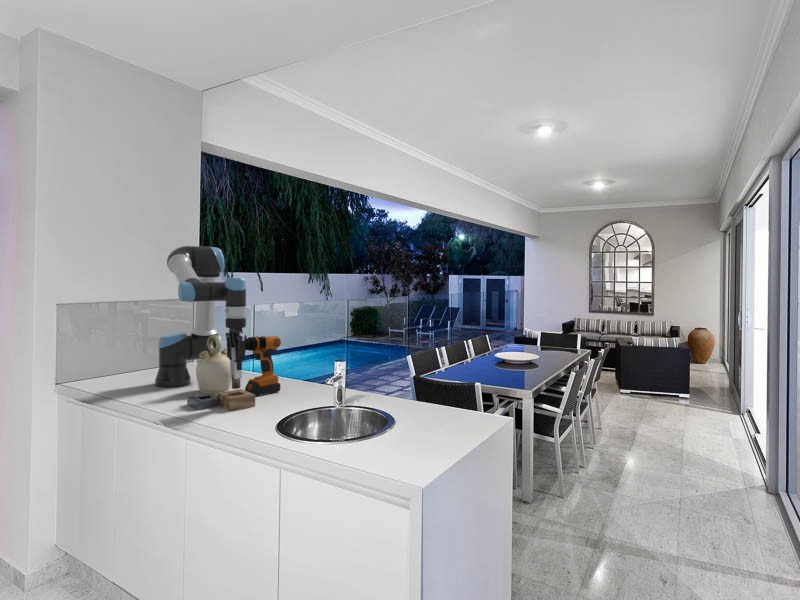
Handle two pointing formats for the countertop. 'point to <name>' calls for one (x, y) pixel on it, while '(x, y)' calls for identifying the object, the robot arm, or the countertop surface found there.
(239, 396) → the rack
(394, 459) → the countertop surface
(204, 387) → the jug
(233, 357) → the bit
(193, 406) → the socket block
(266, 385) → the power drill
